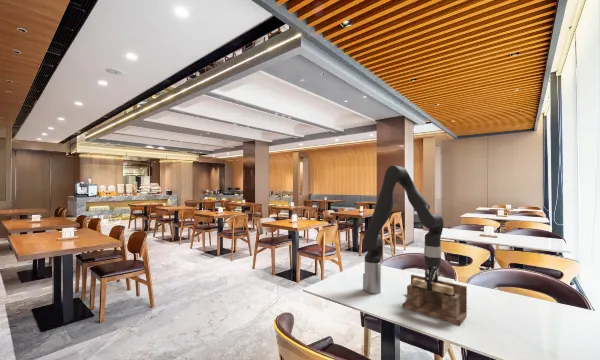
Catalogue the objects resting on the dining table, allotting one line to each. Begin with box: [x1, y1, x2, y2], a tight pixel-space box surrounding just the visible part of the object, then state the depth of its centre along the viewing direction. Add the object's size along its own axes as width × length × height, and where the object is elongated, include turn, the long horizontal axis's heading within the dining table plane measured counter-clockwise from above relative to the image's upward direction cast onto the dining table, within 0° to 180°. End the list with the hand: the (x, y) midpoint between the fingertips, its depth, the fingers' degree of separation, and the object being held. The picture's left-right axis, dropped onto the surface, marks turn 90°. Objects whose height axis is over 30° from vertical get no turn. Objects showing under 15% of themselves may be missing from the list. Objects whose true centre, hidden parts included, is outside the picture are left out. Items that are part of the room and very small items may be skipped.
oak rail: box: [413, 278, 454, 297], centre depth 137 cm, size 18×3×8 cm, turn 48°
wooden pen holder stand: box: [402, 274, 468, 326], centre depth 138 cm, size 26×12×14 cm, turn 48°
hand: (432, 288), depth 137 cm, fingers open, 8 cm apart
